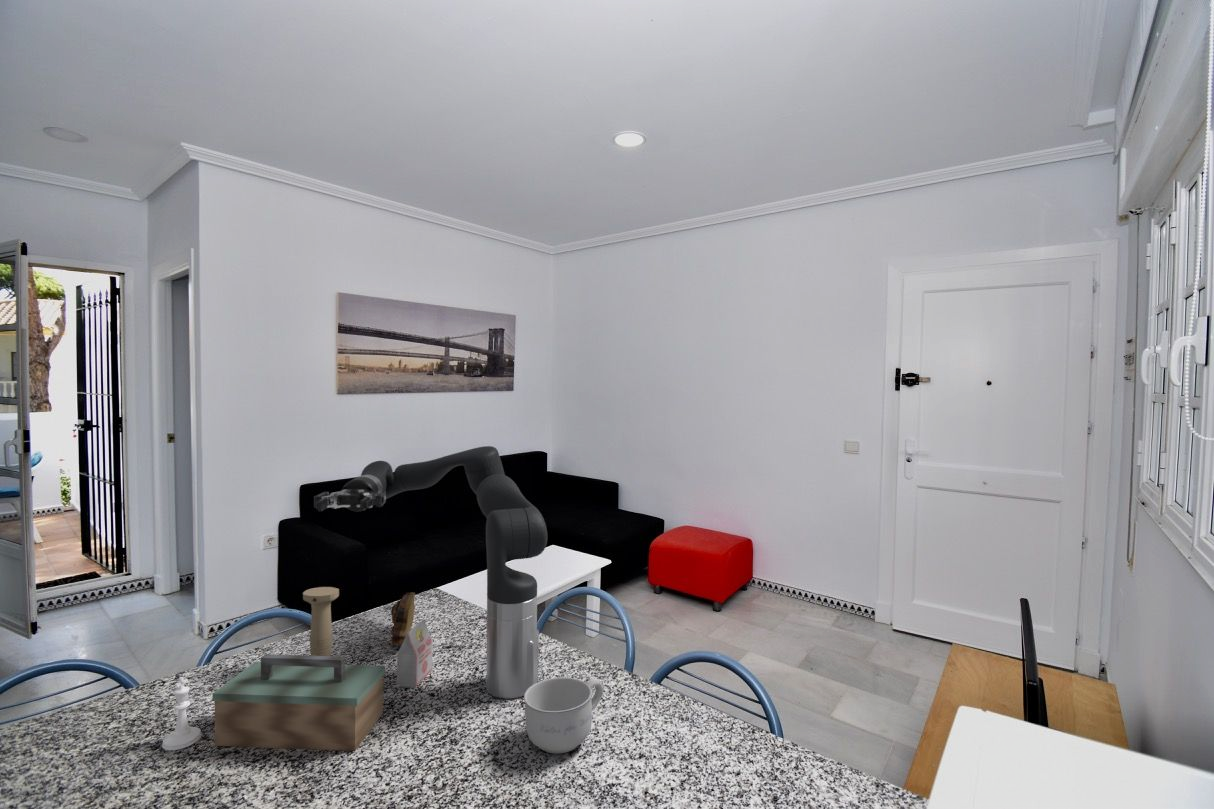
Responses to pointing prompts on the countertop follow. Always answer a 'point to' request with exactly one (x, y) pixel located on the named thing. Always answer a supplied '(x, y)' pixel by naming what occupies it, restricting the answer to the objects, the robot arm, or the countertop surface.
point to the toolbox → (299, 704)
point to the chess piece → (181, 722)
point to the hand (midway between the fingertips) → (340, 506)
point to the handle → (321, 619)
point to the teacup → (560, 712)
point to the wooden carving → (402, 618)
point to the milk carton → (415, 656)
